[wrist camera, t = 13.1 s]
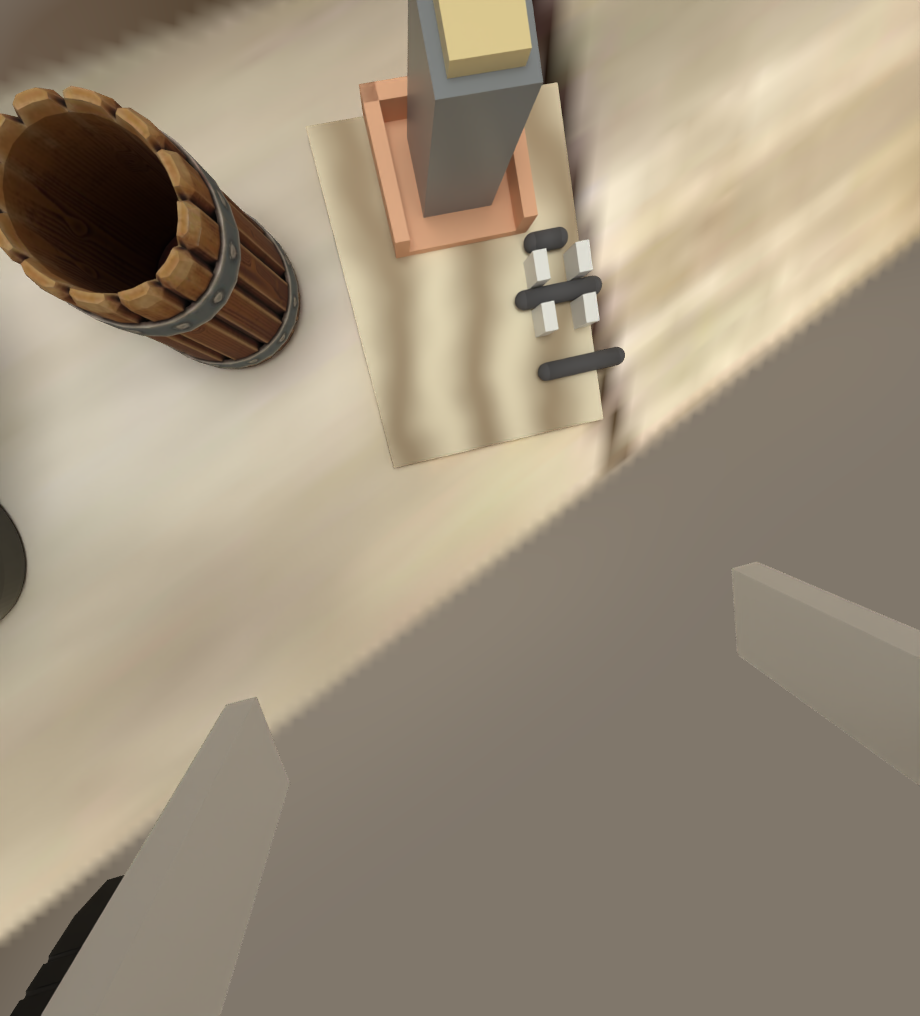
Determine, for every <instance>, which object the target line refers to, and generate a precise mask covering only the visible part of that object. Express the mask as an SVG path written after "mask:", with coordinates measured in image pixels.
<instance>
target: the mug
mask: <svg viewBox="0 0 920 1016" xmlns="http://www.w3.org/2000/svg"><path fill="white" fill-rule="evenodd" d="M63 95H64V98H62V97H61V96H60V95H59V94H58V93H56V92H55V91H54V90H50V89H43V88H32V89H29V90H26V91H23V92H21V93H19V94H17V95H16V96H15V99H14V101H13V106H14V109H15V111H16V113H17V115H18V117H15V116H11V115H6V114H0V247H1V248H2V249H3V250H4V251H5V253H6V254H7V255H8V256H9V257H10V258H11V259H12V260H13V261H15V262H17V263H19V264H21V265H22V268H23V270H24V272H25V274H26V275H27V276H28V277H29V278H30V279H31V280H32V281H33V282H35V283H36V284H37V285H38V286H39V287H40V288H41V289H43V290H44V291H46V292H48V293H50V294H52V295H54V296H56V297H57V298H59V299H61V300H63V301H66V302H67V303H68V304H69V305H71V306H73V307H74V308H76V309H78V310H80V311H82V312H83V313H85V314H87V315H89V316H91V317H92V318H94V319H96V320H99V321H101V322H104V323H106V324H108V325H111V326H113V327H116V328H118V329H122V330H125V331H129V332H132V333H135V334H139V335H142V336H147V337H149V338H152V339H154V340H156V341H159V342H161V343H163V344H166V345H168V346H169V347H171V348H172V349H174V350H176V351H178V352H180V353H181V354H183V355H185V356H187V357H188V358H191V359H193V360H196V361H198V362H201V363H204V364H208V365H212V366H215V367H219V368H242V367H246V366H248V367H249V366H253V365H256V364H260V363H262V362H264V361H266V360H268V359H270V358H271V357H272V355H274V354H275V353H276V352H277V351H280V350H281V349H282V348H283V347H284V346H285V345H286V343H287V342H288V341H289V339H290V337H291V335H292V334H293V332H294V329H293V327H294V325H295V322H296V321H297V320H298V316H299V309H300V294H299V293H298V284H297V279H296V277H295V274H294V271H293V268H292V265H291V263H290V261H289V259H288V257H287V256H286V254H285V252H284V251H283V249H282V247H281V246H280V244H279V243H278V242H277V241H276V240H275V239H274V238H273V237H272V236H271V235H270V234H269V233H268V232H267V231H266V230H265V229H264V228H263V227H262V226H261V225H260V224H259V223H258V222H257V221H256V220H255V219H254V218H252V217H251V216H249V215H248V214H246V213H245V212H243V211H242V210H241V209H240V208H239V207H238V206H237V205H236V204H235V203H234V202H233V201H232V200H231V199H230V198H229V197H228V196H227V195H226V194H225V193H224V192H223V191H221V190H220V188H219V187H218V185H217V183H216V182H215V180H214V179H213V178H212V177H211V176H210V175H209V174H208V173H207V172H206V171H205V170H204V169H203V168H202V167H201V166H200V165H199V164H198V163H197V161H196V160H195V159H194V158H193V157H192V156H191V155H190V154H189V153H187V152H186V151H185V150H184V149H183V148H182V147H181V146H180V145H179V144H178V143H177V142H176V141H175V140H174V139H173V138H171V137H170V136H168V135H167V134H165V133H164V132H162V131H161V130H159V129H158V128H157V127H156V126H155V125H154V124H153V123H152V122H151V121H149V120H148V119H147V118H145V117H144V116H142V115H141V114H139V113H137V112H136V111H134V110H133V109H131V108H122V107H121V106H120V105H119V104H118V103H117V102H116V101H114V100H113V99H112V98H109V97H107V96H104V95H102V94H99V93H96V92H94V91H91V90H87V89H84V88H79V87H74V86H70V87H68V88H66V89H65V90H63Z"/></svg>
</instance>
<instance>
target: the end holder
mask: <svg viewBox="0 0 920 1016" xmlns="http://www.w3.org/2000/svg"><path fill="white" fill-rule="evenodd" d="M359 88H360V95H361V103H362V110H363V117H364V121H365V125H366V130H367V134H368V138H369V143H370V147H371V151H372V156H373V160H374V164H375V169H376V173H377V178H378V182H379V186H380V191H381V195H382V199H383V204H384V208H385V212H386V217H387V221H388V225H389V230H390V234H391V238H392V243H393V247H394V251H395V256H396V258H401V257H406V256H411V255H416V254H421V253H426V252H431V251H436V250H441V249H446V248H451V247H456V246H461V245H466V244H471V243H476V242H481V241H486V240H491V239H496V238H501V237H506V236H511V235H516V234H521V233H526V232H527V230H528V229H529V227H530V226H531V224H532V223H533V222H534V220H535V219H536V217H537V216H538V211H537V205H536V199H535V192H534V186H533V179H532V173H531V166H530V160H529V153H528V147H527V140H526V134H525V127H524V129H523V131H522V133H521V136H520V138H519V140H518V143H517V145H516V148H515V150H514V152H513V155H512V157H511V159H510V162H509V164H508V167H507V169H506V171H505V174H504V176H503V179H502V181H501V183H500V186H499V188H498V190H497V193H496V195H495V198H494V200H493V202H492V205H490V206H485V207H479V208H474V209H469V210H463V211H458V212H453V213H447V214H442V215H436V216H431V217H426V218H423V213H422V208H421V203H420V198H419V193H418V189H417V184H416V179H415V174H414V169H413V164H412V159H411V155H410V150H409V145H408V140H407V76H405V77H399V78H393V79H388V80H382V81H376V82H370V83H364V84H359Z"/></svg>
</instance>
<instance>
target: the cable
mask: <svg viewBox="0 0 920 1016" xmlns="http://www.w3.org/2000/svg"><path fill="white" fill-rule="evenodd" d="M567 241H568V232H567V230H566V229H565V228H563V227H555V228H550V229H545V230H540V231H535V232H531V233H529V234H528V235H527V236H526V237H525V239H524V249H525V250H526V252H528V253H530V254H531V252H532V251H535V250H540V249H544V248H546V250H547V251H550V250H555V249H560V248H562V247H564V246H565V244H566V243H567ZM601 287H602V282H601V279H600V278H599V277H597V276H589V277H584V278H579V279H574V280H570V281H565V282H560V283H555V284H551V285H546V286H541V287H536V288H531V289H527V290H522V291H520V292H519V293H518V294H517V295H516V297H515V305H516V307H517V308H518V309H520V310H529V309H534V308H536V307H537V306H538V305H540V304H541V303H545V302H550V301H554V303H555V304H557V303H562V302H566V301H571V300H575V299H577V298H578V297H580V296H581V295H583V294H587V293H592V292H596V294H598V293H599V291H600V290H601ZM624 358H625V353H624V351H623V349H621V348H619V347H613V348H609V349H604V350H600V351H595V352H591V353H586V354H582V355H578V356H573V357H569V358H564V359H560V360H555V361H551V362H546V363H543V364H542V365H540V367H539V369H538V376H539V378H540V379H541V380H544V381H549V380H554V379H558V378H562V377H567V376H571V375H576V374H580V373H585V372H589V371H593V370H598V369H602V368H607V367H611V366H615V365H619V364H620V363H622V362H623V360H624Z"/></svg>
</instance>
